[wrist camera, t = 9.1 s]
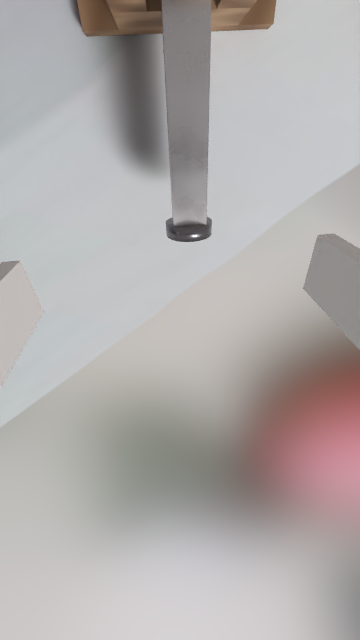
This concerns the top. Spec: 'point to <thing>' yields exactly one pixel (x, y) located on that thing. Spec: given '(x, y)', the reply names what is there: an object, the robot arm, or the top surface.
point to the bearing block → (145, 16)
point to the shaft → (187, 114)
